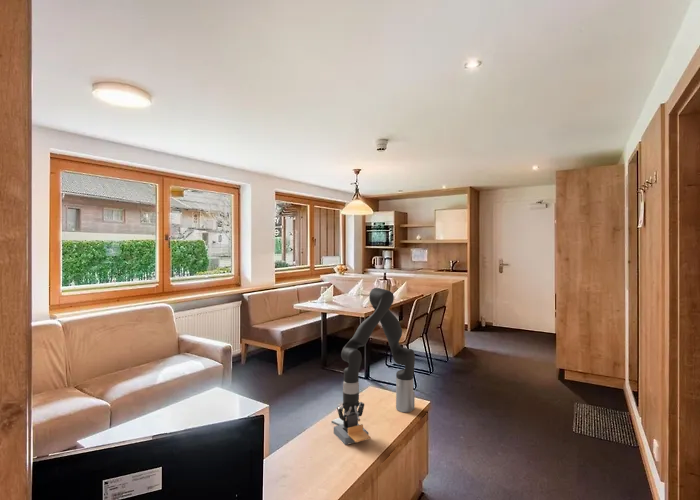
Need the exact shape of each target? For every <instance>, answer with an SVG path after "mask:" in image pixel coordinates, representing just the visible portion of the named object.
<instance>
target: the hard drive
mask: <svg viewBox="0 0 700 500" xmlns="http://www.w3.org/2000/svg"><path fill="white" fill-rule="evenodd" d="M343 416H344V414H343ZM359 420H361V419H360V417H359V418H358V421H359ZM330 422H331V424H333V425H335V426H339V425H343V421H342V420H341V419H340V417H337V418H335V419H333V420H331V421H330Z"/></svg>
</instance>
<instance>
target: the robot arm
mask: <svg viewBox="0 0 700 500" xmlns="http://www.w3.org/2000/svg"><path fill="white" fill-rule="evenodd" d="M394 296H395V295H394V294H393V292H392V291H390V290H388V289H385V288H381V287H374V288H372V289H371V290H370V292H369V296H368V297H369V298H368V299H369V302H370V304H371V306H372V308H373V310H374V312H373V313H371V315H370V316H368V317H367V318H366V319H364V320H363V321H362V322H361V323H360V324H359V325H358V327H357V329H356V331H355V332H354V334H353V336H352V338H350V339H349V341H348V342H347V343H346V344H345V345H344V346H343V347H342V350H341V353H340V357H341V359H342V361H344V362H347V363H348V367H345V368H344V370H343V383H342V405H340V406H337V407H336V409H337V413H338V416H339V417H340V419H341V420H342V421H343V426H344V427H345V428H346V429H347V428H348V421H347V420H348V416H349V415H350V413H351V412H354V413H355V414H357V425H358V424H359V420H358V418H360V417H362V416H363V413H364V408H365V403H364V402H362V401H360V381H359V380H360V379H359V375H360V373H359V372H360V368H361V366H362V358H363V357H362V353H361V350H358V349H359V348H361V347H364V346H366V344H367V343H368V342H369V339H370V338H371V336H372V333H373V332H374V330H375V328H376V327H377V326H378V324H379V323H380V325H381V327H382V331H383V333H384V335H385V337H386V340H387V342H388V345H389V348H390V352H391V355H392V359H393V361H394V363H395V364H397V365H400V366H403V367H404V369H400V370H397V371H396V378H395V379H396V381H395V382H396V385H395V386H396V387H395V389H396V390H395V391H396V392H395V398H396V399H395V410H396V411H398V412H401V413H411V412H413V410H415V409H416V408H415V404H416V403H415V402H416V401H415V398H416V397H415V396H416V394H415V391H414V373H415V363H416V361H415V360H416V357H415V356H416V354H415V351H414V350H413V349H412V348H411V349H410V348H406V347H402V346H401V344H400V340H401V337H402V335H403V328H402V327H401V324H400V321H399V319H398V318H397V316H395V315H394V313H393V312H392V311H391V310H390V308H392V305H393V304H394V300H395V297H394ZM343 415H344V416H343ZM339 417H338V418H339Z"/></svg>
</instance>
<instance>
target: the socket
mask: <svg viewBox="0 0 700 500" xmlns="http://www.w3.org/2000/svg"><path fill="white" fill-rule="evenodd" d="M358 425H360V424H359V423H358ZM363 431H364V432H366V433H367V434H368V435H369V431H368V430H367V429H365V428H364V427H363ZM333 434H334V435H335V436H336V437H337V438H338V439H339V440H340V441H341V443H342V444H344V445H345V446H347V445H350V444H353V443H356V442H355V441H354V440H353V439H352V438H351V437H350V436H349V435H348V431H347V430H346V429H345V428H344V426H343V425H339V426H338V425H335V426H333Z"/></svg>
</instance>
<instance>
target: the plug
mask: <svg viewBox="0 0 700 500" xmlns="http://www.w3.org/2000/svg"><path fill="white" fill-rule="evenodd" d="M347 421H348V428H349V427H353V426H357V414H355V413H354V412H351V413H350V415H349V416H348V420H347ZM344 428H345V427H344ZM348 428H347V429H346V428H345V429H346V430H347V431H348Z"/></svg>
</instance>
